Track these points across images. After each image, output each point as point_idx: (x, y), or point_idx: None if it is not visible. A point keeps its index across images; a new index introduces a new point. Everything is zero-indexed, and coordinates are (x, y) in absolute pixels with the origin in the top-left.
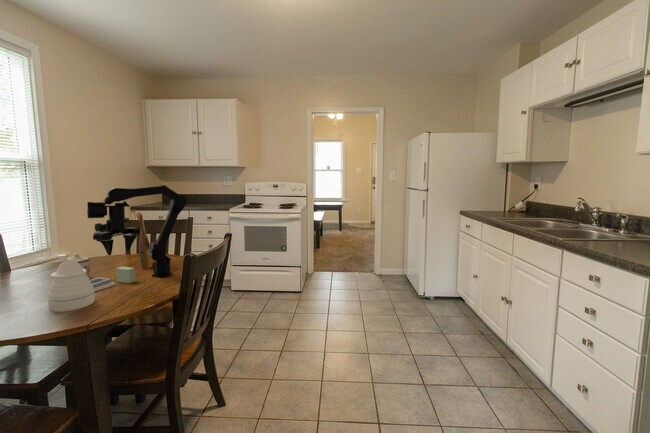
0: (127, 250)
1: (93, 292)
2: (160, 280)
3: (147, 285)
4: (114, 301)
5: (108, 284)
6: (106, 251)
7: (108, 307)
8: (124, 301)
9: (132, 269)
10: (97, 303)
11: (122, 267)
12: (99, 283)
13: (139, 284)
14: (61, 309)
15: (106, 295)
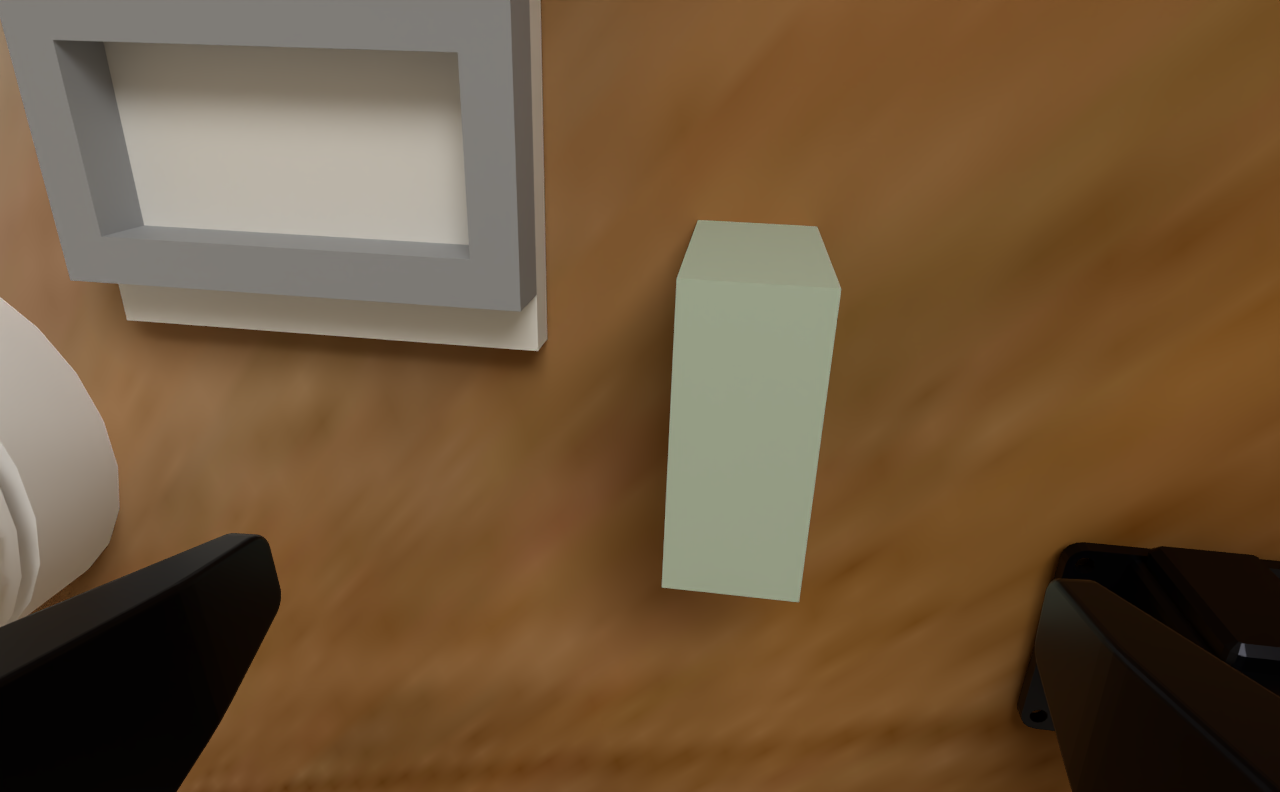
0: (1045, 638)
1: (20, 611)
2: (887, 741)
3: (667, 716)
4: None
5: (443, 337)
6: (78, 607)
7: None
8: (235, 787)
9: (751, 583)
10: None
11: (771, 362)
12: (317, 294)
13: (672, 616)
14: None
15: None
